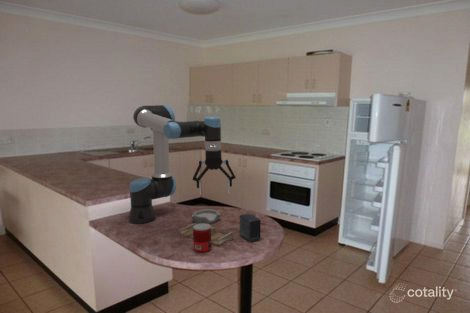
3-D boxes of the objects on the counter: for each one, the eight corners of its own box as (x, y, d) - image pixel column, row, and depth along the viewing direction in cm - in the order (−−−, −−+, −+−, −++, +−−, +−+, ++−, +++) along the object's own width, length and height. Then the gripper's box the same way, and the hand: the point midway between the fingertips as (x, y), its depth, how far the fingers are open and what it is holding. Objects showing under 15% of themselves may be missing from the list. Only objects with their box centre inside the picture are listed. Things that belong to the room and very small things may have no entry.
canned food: (213, 251, 147) (212, 228, 145) (195, 254, 145) (194, 230, 143) (209, 244, 154) (208, 222, 153) (192, 247, 152) (191, 224, 150)
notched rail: (181, 236, 165) (180, 229, 164) (195, 229, 174) (195, 222, 173) (219, 247, 152) (219, 239, 151) (233, 239, 161) (232, 232, 160)
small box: (261, 240, 159) (261, 219, 157) (249, 242, 156) (249, 221, 154) (250, 232, 168) (250, 213, 167) (239, 235, 165) (238, 215, 164)
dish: (223, 219, 189) (222, 211, 188) (207, 227, 177) (207, 218, 176) (203, 215, 196) (202, 207, 196) (187, 222, 185) (187, 213, 184)
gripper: (186, 151, 150) (188, 197, 153) (240, 149, 153) (241, 194, 156) (186, 149, 157) (188, 193, 160) (238, 148, 160) (239, 190, 163)
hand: (214, 194), depth 158 cm, fingers open, 13 cm apart
